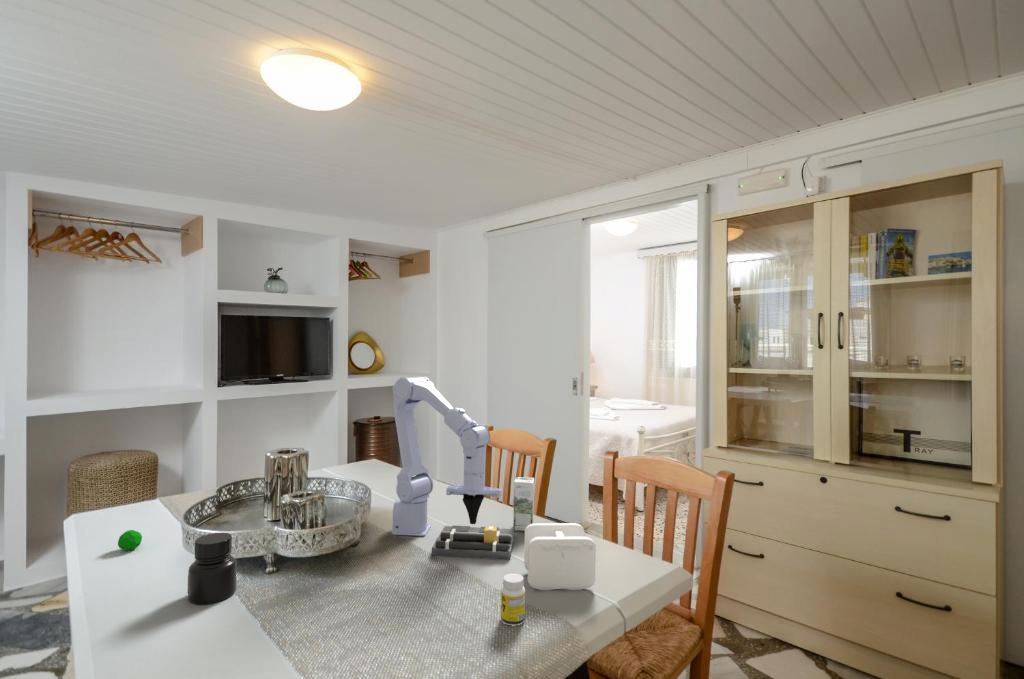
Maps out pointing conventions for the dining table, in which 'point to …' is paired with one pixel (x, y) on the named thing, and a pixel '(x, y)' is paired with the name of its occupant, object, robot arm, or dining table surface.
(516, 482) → the syrup box
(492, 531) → the block
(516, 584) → the supplement bottle
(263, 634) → the dining table surface
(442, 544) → the cable bundles
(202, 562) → the ink bottle
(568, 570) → the cable organizer
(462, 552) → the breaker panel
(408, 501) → the robot arm
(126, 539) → the polyhedron
